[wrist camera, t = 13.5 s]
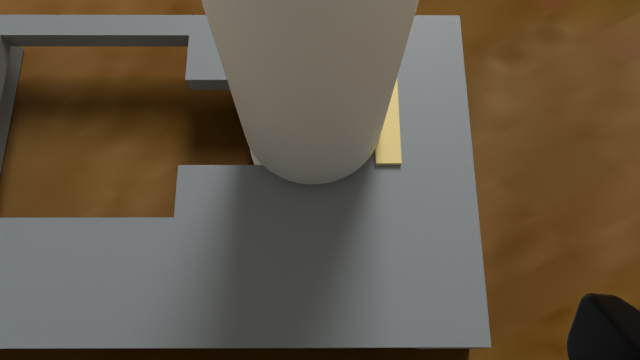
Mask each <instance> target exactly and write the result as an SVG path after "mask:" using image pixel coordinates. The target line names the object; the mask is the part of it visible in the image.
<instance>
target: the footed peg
mask: <svg viewBox="0 0 640 360" xmlns="http://www.w3.org/2000/svg"><path fill="white" fill-rule="evenodd" d="M418 2H419V0H202V4H203V7H204V10H205V13H206V16H207V19H208V22H209V25H210V28H211V32H212V35H213V38H214V41H215V44H216V47H217V50H218V53H219V57H220V60H221V63H222V66H223V69H224V72H225V75H226V78H227V81H228V85H229V88H230V91H231V94H232V97H233V100H234V103H235V106H236V110H237V113H238V116H239V119H240V122H241V125H242V128H243V131H244V134H245V138H246V140H247V143H248V145H249V147H250V151H251V156H252V159H253V163H254V165H263V166H264V167H265V168H267V169H268V170H269V171H271V172H272V173H274V174H275V175H277V176H279V177H281V178H283V179H286V180H288V181H292V182H296V183H301V184H325V183H329V182H334V181H337V180H339V179H342V178H344V177H346V176H348V175H350V174H352V173H353V172H355V171H356V170H357V169H359V168H360V167H361V166H362V165H363V164H364V163H365V162H366V161H367V160H368V159H369V157H370V156H371V155H372V153H373V152H374V150H375V148H376V146H377V144H378V141H379V139H380V135H381V132H382V128H383V125H384V121H385V118H386V114H387V111H388V107H389V104H390V100H391V97H392V93H393V90H394V86H395V83H396V79H397V76H398V72H399V69H400V65H401V62H402V58H403V55H404V51H405V48H406V44H407V41H408V37H409V34H410V30H411V27H412V23H413V20H414V16H415V13H416V9H417V6H418Z"/></svg>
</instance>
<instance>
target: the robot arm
mask: <svg viewBox="0 0 640 360" xmlns="http://www.w3.org/2000/svg"><path fill="white" fill-rule="evenodd" d="M567 352H568V357H569V360H640V311H639V310H638V309H636V308H634V307H633V306H631V305H630V304H628V303H627V302H625V301H624V300H622V299H621V298H619V297H617V296H614V295H605V294H593V293H589V294H586V295H585V296H583V298H582V299H581V301H580V303H579V306H578V309H577V312H576V315H575V318H574V320H573V323H572V326H571V329H570V332H569V335H568V339H567Z"/></svg>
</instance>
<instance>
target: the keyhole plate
mask: <svg viewBox="0 0 640 360" xmlns="http://www.w3.org/2000/svg"><path fill="white" fill-rule="evenodd" d="M20 46H188V54H187V66H186V78H185V80H186V82H187V84H188V87H189V89H190V90H230V88H229V85H228V81H227V78H226V75H225V72H224V69H223V66H222V63H221V60H220V57H219V53H218V50H217V47H216V44H215V41H214V38H213V35H212V32H211V28H210V25H209V22H208V19H207V16H206V15H0V174H1V169H2V163H3V158H4V153H5V147H6V142H7V137H8V132H9V126H10V121H11V116H12V110H13V105H14V100H15V95H16V89H17V84H18V79H19V73H20V68H21V63H22V58H23V52H24V50H23V49H22V48H21V47H20ZM488 347H491V339H490V329H489V318H488V308H487V298H486V287H485V277H484V266H483V256H482V245H481V235H480V224H479V214H478V204H477V193H476V183H475V172H474V162H473V151H472V141H471V130H470V120H469V109H468V99H467V89H466V78H465V68H464V57H463V47H462V36H461V26H460V16H441V15H415V16H414V20H413V23H412V27H411V30H410V34H409V37H408V41H407V44H406V48H405V51H404V55H403V58H402V62H401V65H400V69H399V72H398V76H397V79H396V83H395V86H394V90H393V93H392V97H391V100H390V104H389V107H388V111H387V114H386V118H385V121H384V125H383V128H382V132H381V135H380V139H379V141H378V144H377V146H376V148H375V150H374V152H373V153H372V155H371V156H370V157H369V159H368V160H367V161H366V162H365V163H364V164H363V165H362V166H361V167H360V168H359V169H357V170H356V171H355V172H353V173H352V174H350V175H348V176H346V177H344V178H342V179H339V180H337V181H334V182H329V183H325V184H301V183H296V182H292V181H288V180H286V179H283V178H281V177H279V176H277V175H275V174H274V173H272V172H271V171H269V170H268V169H267V168H265V167H264V166H263V165H178V175H177V187H176V199H175V211H174V218H0V349H213V348H414V349H475V348H488Z"/></svg>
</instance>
